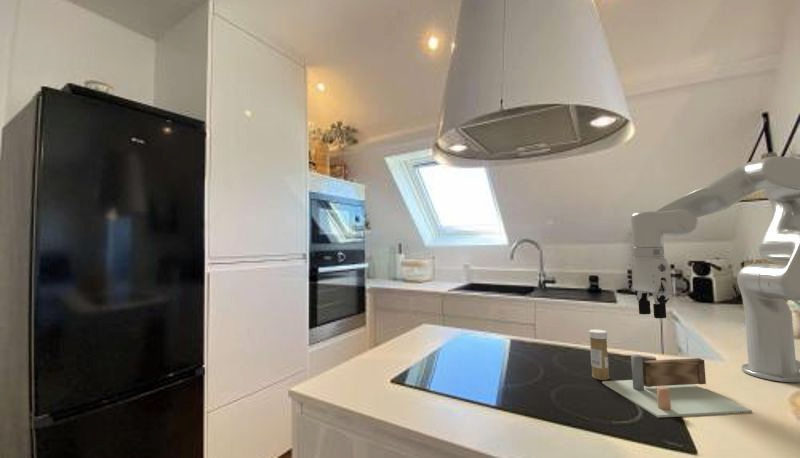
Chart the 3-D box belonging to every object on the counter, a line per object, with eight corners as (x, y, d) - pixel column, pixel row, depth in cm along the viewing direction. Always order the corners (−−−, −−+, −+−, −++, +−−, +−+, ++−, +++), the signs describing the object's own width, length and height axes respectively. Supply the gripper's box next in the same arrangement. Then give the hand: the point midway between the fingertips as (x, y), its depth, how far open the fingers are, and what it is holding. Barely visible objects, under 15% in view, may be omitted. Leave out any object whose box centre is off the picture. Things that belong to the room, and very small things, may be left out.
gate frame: (678, 379, 100) (675, 347, 100) (752, 412, 80) (748, 371, 80) (602, 383, 99) (600, 350, 99) (657, 417, 79) (655, 376, 79)
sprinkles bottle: (613, 380, 101) (610, 332, 101) (598, 381, 100) (596, 333, 101) (602, 374, 105) (599, 328, 106) (588, 375, 105) (585, 329, 105)
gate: (700, 381, 95) (698, 358, 95) (705, 384, 93) (704, 360, 93) (642, 384, 94) (641, 360, 94) (647, 387, 92) (645, 362, 93)
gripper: (685, 253, 96) (689, 321, 95) (639, 252, 113) (643, 310, 112) (658, 254, 96) (663, 322, 95) (616, 253, 113) (620, 311, 112)
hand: (652, 315), depth 103 cm, fingers open, 5 cm apart
